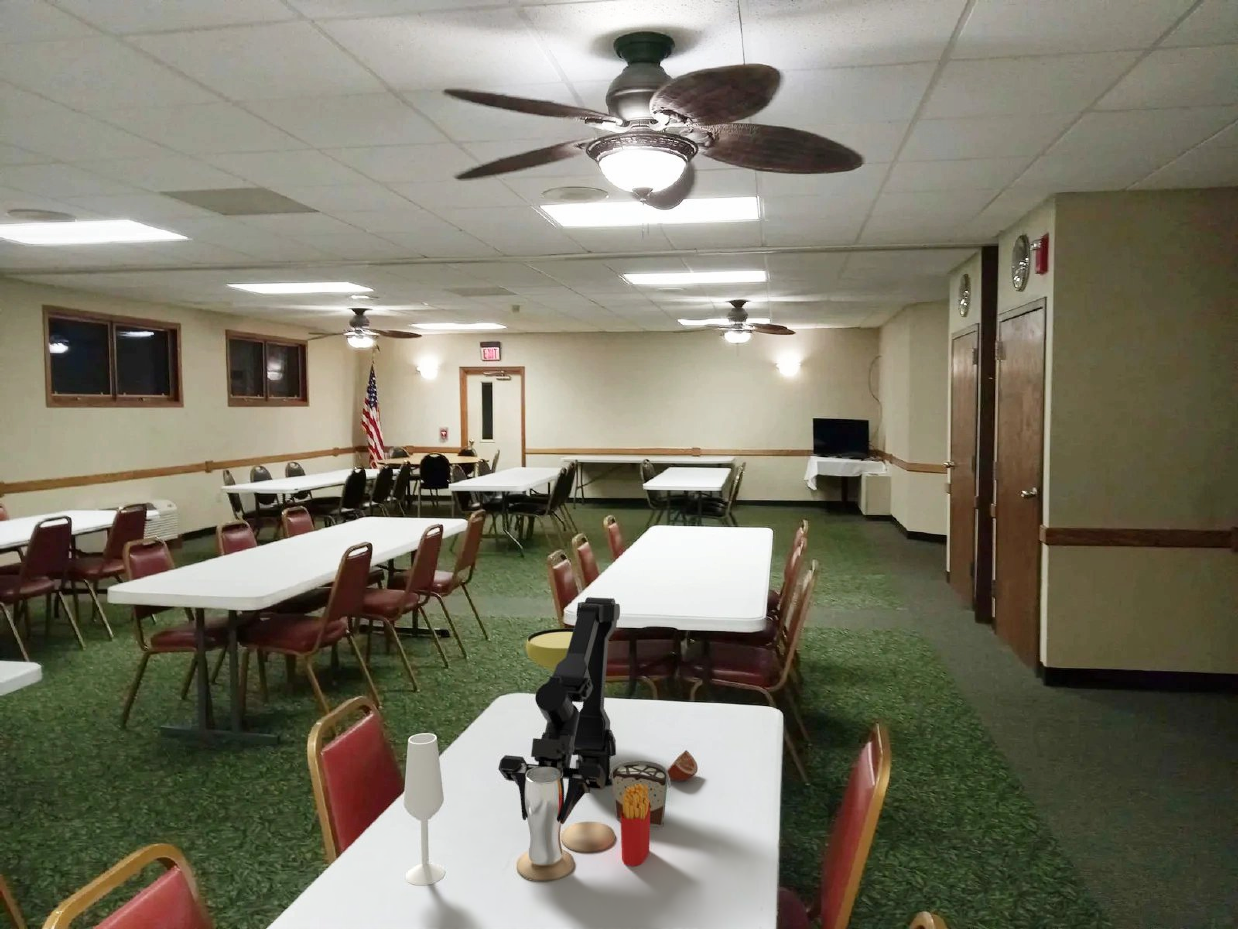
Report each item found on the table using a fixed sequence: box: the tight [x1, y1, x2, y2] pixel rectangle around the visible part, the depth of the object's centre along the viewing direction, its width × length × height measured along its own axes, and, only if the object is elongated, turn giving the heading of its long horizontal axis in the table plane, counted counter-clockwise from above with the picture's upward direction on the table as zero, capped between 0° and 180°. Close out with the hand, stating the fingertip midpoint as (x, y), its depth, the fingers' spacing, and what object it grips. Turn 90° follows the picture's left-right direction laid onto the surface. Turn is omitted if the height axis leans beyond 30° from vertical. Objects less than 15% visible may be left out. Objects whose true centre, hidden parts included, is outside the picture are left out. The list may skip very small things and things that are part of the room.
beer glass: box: [525, 766, 566, 866], centre depth 145 cm, size 7×7×15 cm
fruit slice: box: [666, 749, 698, 782], centre depth 179 cm, size 8×7×5 cm
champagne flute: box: [403, 732, 446, 886], centre depth 142 cm, size 7×7×24 cm
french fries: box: [619, 784, 651, 867], centre depth 148 cm, size 8×4×12 cm, turn 157°
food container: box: [609, 760, 672, 828], centre depth 163 cm, size 12×6×10 cm, turn 71°
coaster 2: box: [560, 821, 616, 853], centre depth 155 cm, size 10×10×1 cm
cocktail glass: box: [525, 627, 574, 672], centre depth 200 cm, size 18×18×25 cm
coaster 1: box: [516, 848, 575, 882], centre depth 146 cm, size 10×10×1 cm
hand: (542, 821), depth 144 cm, fingers closed on beer glass, 6 cm apart
